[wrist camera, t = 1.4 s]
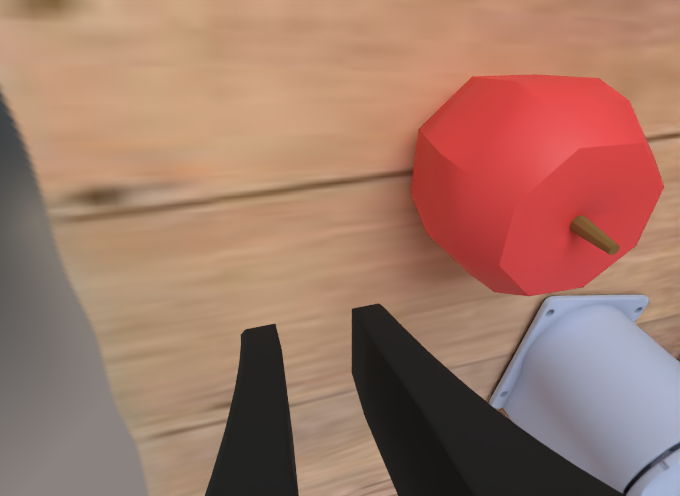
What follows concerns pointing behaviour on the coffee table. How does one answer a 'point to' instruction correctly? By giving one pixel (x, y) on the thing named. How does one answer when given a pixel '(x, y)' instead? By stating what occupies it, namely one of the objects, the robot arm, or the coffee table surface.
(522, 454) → the robot arm
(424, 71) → the coffee table surface
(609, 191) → the apple
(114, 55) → the coffee table surface
